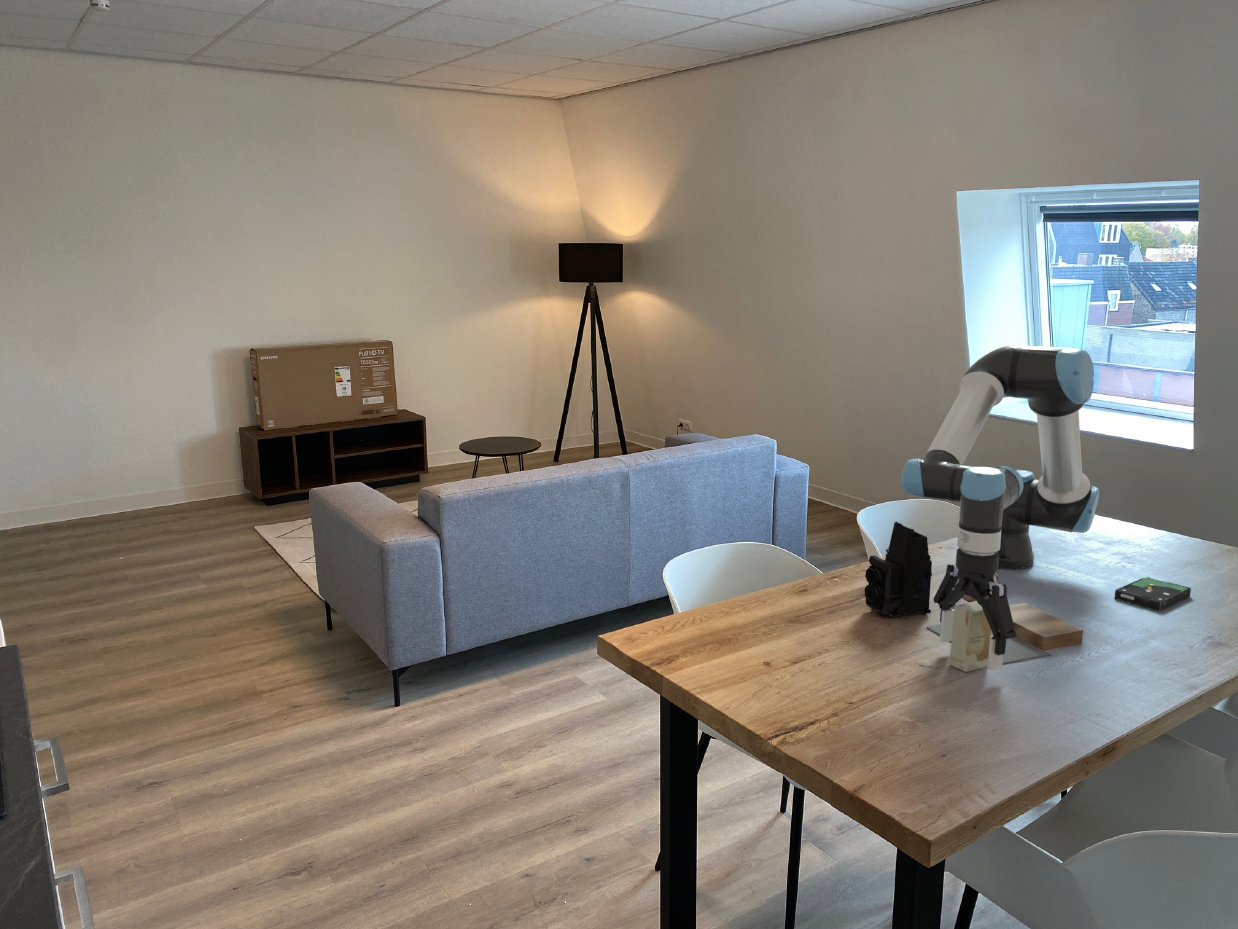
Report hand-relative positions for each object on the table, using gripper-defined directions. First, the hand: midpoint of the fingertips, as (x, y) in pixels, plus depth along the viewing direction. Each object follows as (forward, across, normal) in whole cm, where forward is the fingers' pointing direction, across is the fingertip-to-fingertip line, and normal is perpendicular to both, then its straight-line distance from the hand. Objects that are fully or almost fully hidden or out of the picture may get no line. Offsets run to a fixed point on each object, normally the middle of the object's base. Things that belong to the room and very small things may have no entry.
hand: (969, 654), depth 180 cm
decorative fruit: (+2, -25, +22) cm, 33 cm away
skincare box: (+2, 0, 0) cm, 2 cm away
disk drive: (+3, -14, +63) cm, 65 cm away
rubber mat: (+2, -8, +11) cm, 14 cm away
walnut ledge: (+2, -8, +23) cm, 24 cm away
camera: (+2, -28, +3) cm, 28 cm away
